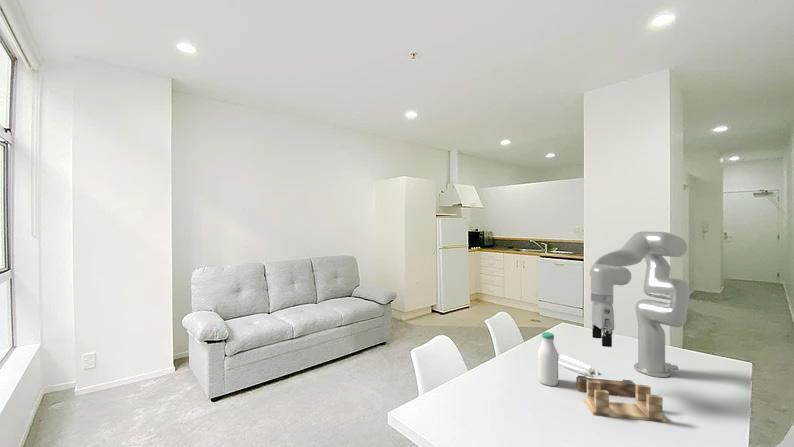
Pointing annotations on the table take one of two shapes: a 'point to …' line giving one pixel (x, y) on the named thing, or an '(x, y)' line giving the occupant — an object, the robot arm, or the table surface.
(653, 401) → the wooden cradle stand
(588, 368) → the door handle
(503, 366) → the table surface
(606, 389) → the rail
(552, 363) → the milk bottle
